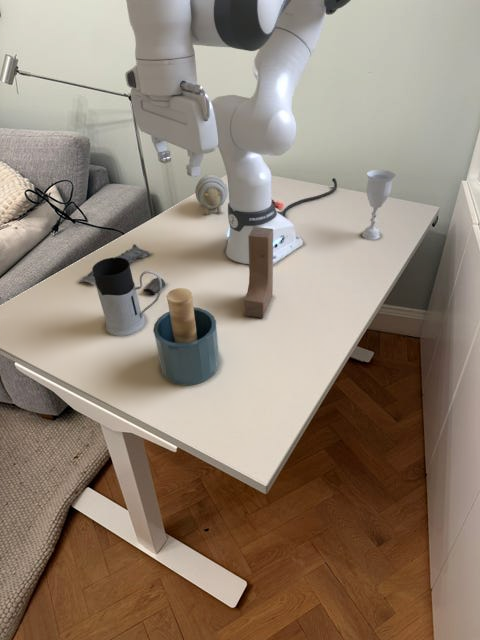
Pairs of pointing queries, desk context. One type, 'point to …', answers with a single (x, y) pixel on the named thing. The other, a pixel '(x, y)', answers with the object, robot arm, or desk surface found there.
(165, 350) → the crock
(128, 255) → the grey fabric pouch
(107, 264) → the glass holder
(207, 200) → the toy sheep
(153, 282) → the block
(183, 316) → the rolling pin
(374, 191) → the chalice
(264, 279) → the wooden block
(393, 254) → the desk surface
